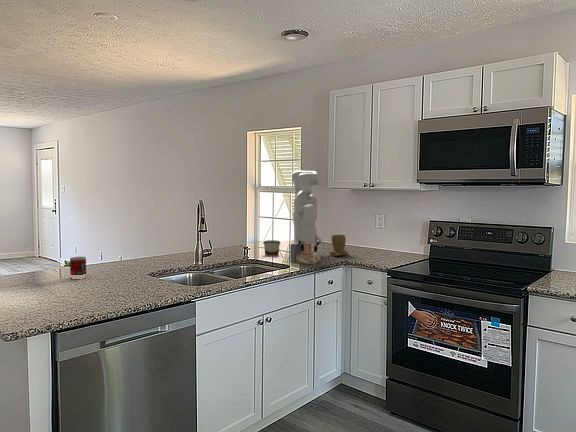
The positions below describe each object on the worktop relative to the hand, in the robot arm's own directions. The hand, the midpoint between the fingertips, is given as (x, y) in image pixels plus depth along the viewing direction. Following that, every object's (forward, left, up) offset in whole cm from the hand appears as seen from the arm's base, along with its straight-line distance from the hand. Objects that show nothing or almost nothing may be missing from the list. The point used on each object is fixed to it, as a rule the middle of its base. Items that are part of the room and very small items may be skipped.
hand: (308, 251), depth 288 cm
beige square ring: (0, -1, -7) cm, 7 cm away
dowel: (0, -1, -7) cm, 7 cm away
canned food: (+99, -91, -7) cm, 135 cm away
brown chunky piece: (-35, +8, -7) cm, 37 cm away
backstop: (0, -8, -7) cm, 11 cm away
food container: (-17, -35, -7) cm, 40 cm away
